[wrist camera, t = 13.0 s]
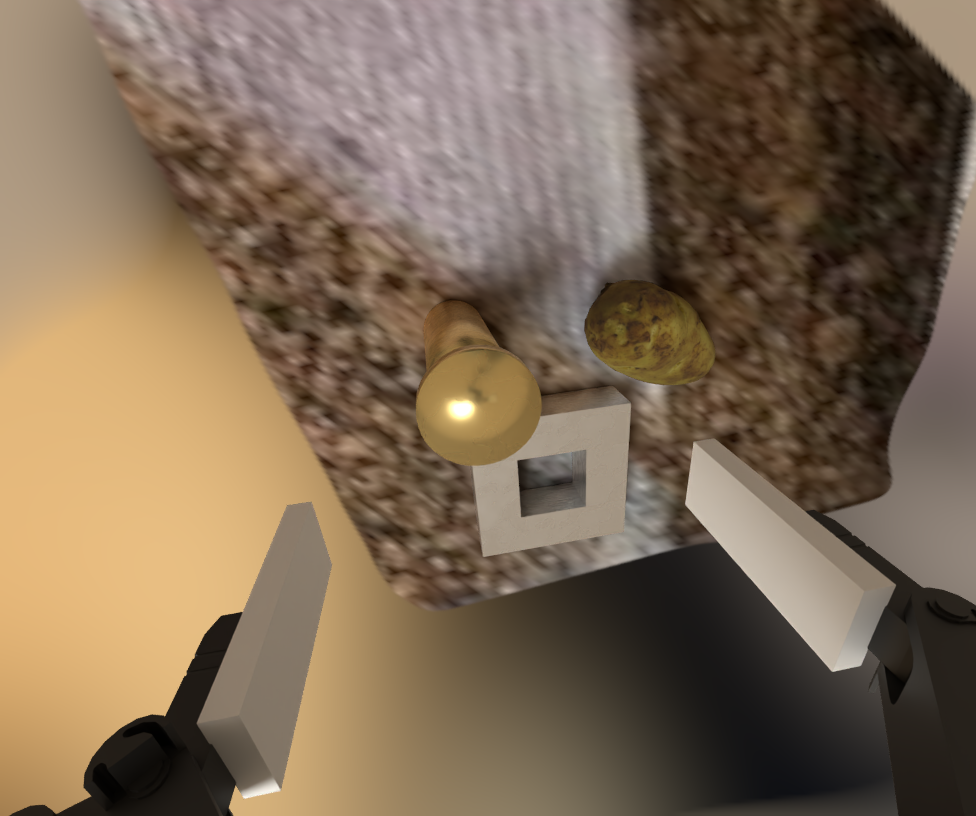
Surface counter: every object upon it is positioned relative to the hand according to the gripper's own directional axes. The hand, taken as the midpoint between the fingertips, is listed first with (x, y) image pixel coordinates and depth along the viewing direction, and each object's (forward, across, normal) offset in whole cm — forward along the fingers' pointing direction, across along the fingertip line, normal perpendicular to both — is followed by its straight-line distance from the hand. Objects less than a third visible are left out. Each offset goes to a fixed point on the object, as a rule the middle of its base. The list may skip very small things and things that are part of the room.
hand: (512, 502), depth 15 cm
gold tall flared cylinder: (+24, 0, 0) cm, 24 cm away
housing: (+24, +7, -14) cm, 29 cm away
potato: (+24, +15, -2) cm, 29 cm away
